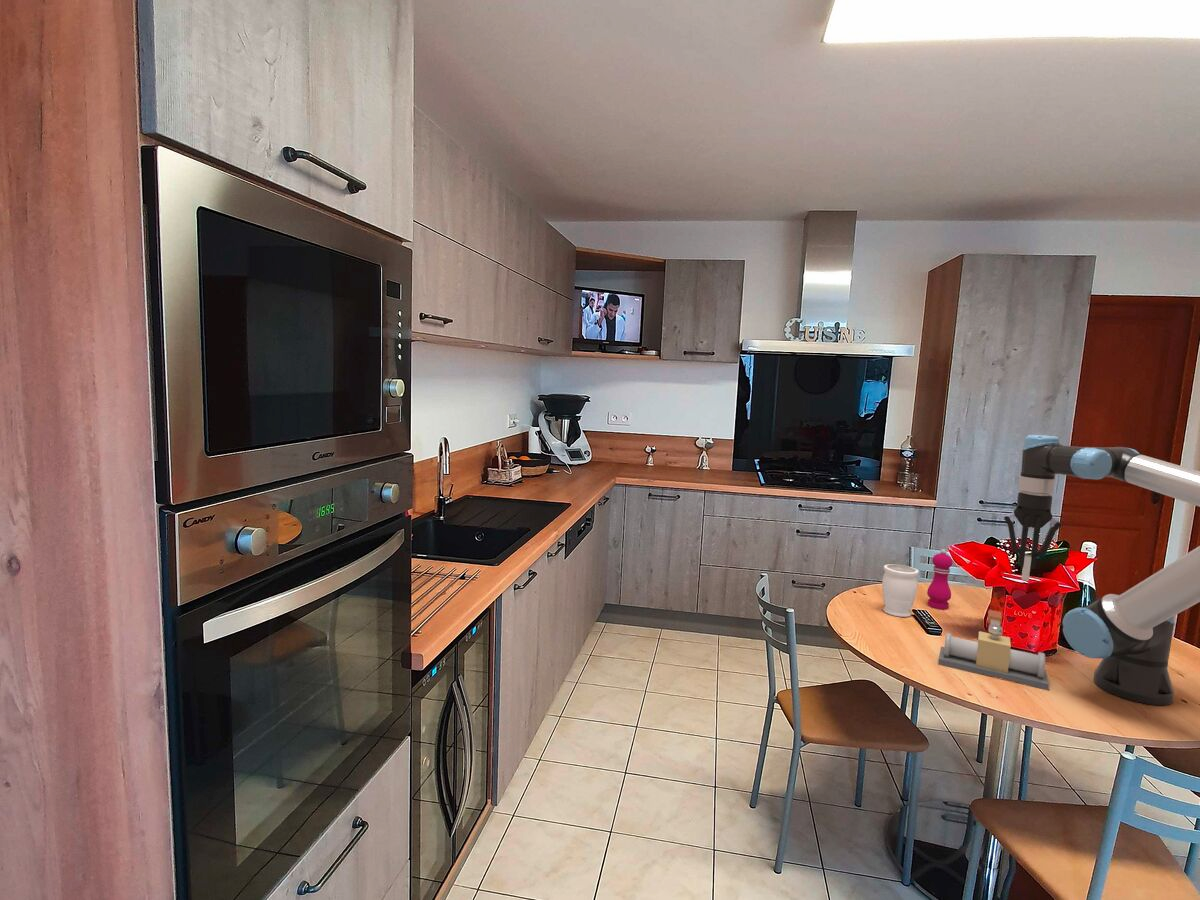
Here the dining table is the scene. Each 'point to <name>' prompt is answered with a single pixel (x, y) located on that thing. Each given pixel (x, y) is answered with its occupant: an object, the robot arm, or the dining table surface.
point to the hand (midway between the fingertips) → (1025, 579)
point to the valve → (994, 659)
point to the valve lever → (995, 622)
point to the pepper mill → (940, 582)
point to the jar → (899, 589)
